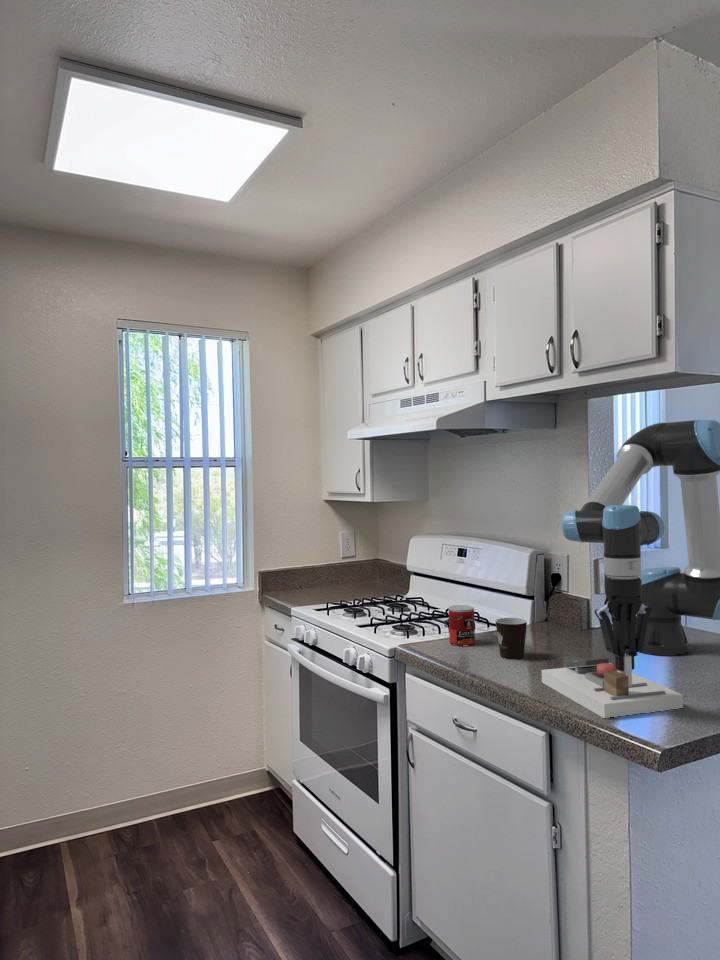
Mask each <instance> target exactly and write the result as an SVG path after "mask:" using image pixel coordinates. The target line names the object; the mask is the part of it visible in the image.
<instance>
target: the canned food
mask: <svg viewBox="0 0 720 960" xmlns="http://www.w3.org/2000/svg"><path fill="white" fill-rule="evenodd" d="M448 632H449V635H448V636H449V637H448V638H449V643H450V644H451V643H452V644H455V645H471V646H473V645H475V642H476V638H475V636H476V634H475V633H476V632H475V607H474V606H472V605H467V604H456V605H450V606H448ZM452 644H451V645H452Z"/></svg>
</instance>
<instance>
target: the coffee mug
mask: <svg viewBox="0 0 720 960" xmlns="http://www.w3.org/2000/svg"><path fill="white" fill-rule="evenodd" d="M527 623H528V621H527V619H524V618H519V617H502V618H497V619H495V629H496V634H497V641H498V649H499V657H500V656H501V657H502V659H504V658H506V659H505V660H510V659H517V660H522V659H523V658H524V656H525V648H526V647H525V645H526V635H527V634H526V633H527V625H528V624H527ZM501 657H500V658H501Z"/></svg>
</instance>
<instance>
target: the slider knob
mask: <svg viewBox="0 0 720 960" xmlns="http://www.w3.org/2000/svg"><path fill="white" fill-rule="evenodd" d="M604 691H606V692H608V693H610V694H612V695H614V696H622V695H629V682H628V676H626V675H624V674H622V673H619V672H617V671H610V672H604Z"/></svg>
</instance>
